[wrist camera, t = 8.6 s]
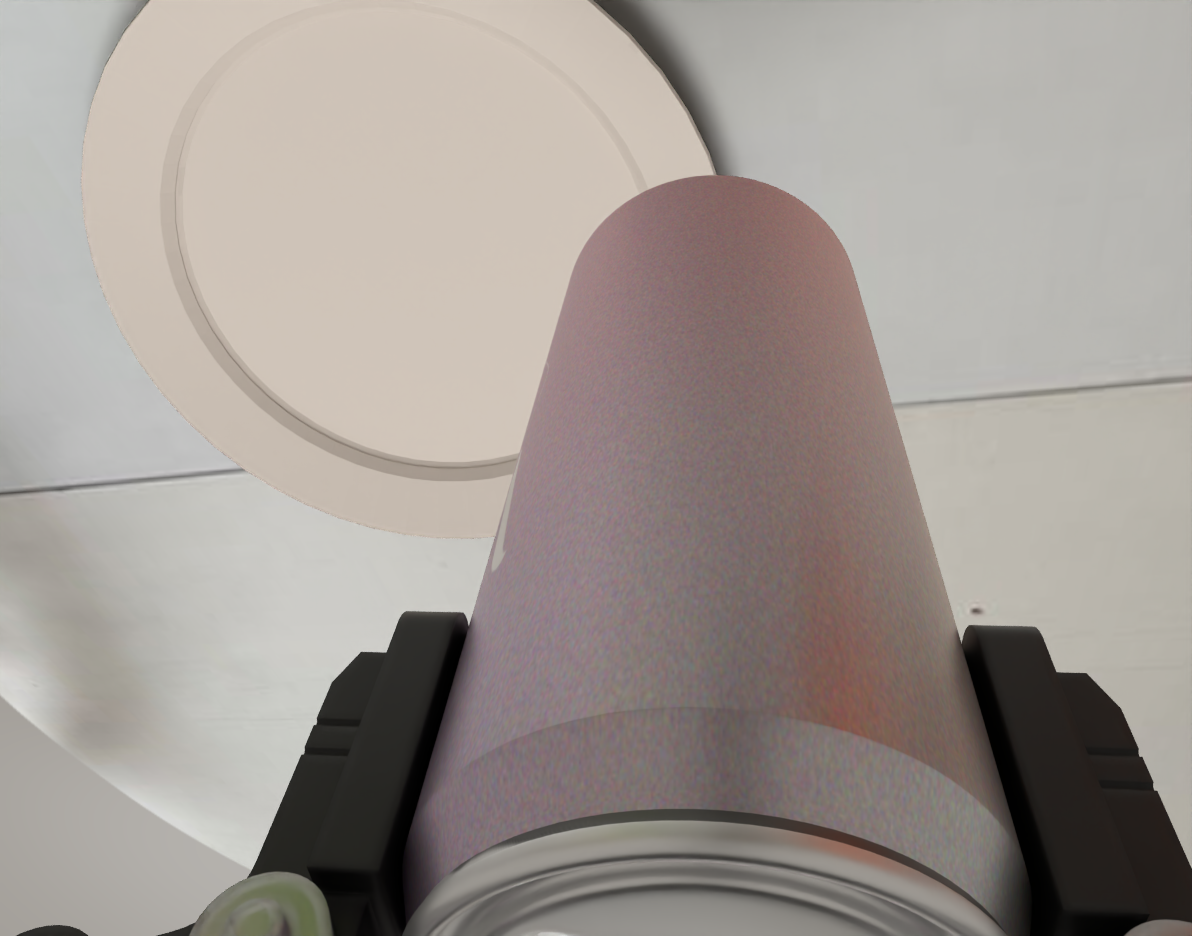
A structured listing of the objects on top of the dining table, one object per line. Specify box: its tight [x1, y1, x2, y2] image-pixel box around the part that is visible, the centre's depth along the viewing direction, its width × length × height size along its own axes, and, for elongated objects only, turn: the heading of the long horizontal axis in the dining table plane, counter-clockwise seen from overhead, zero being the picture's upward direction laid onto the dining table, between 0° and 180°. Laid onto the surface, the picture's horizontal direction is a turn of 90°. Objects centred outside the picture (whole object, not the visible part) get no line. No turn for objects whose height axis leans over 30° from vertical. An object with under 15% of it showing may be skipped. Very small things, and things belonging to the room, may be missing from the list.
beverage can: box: [402, 175, 1032, 936], centre depth 15 cm, size 6×6×15 cm
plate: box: [81, 0, 717, 539], centre depth 39 cm, size 26×26×2 cm
